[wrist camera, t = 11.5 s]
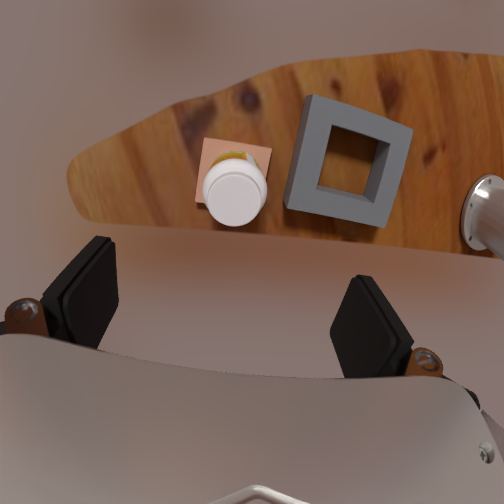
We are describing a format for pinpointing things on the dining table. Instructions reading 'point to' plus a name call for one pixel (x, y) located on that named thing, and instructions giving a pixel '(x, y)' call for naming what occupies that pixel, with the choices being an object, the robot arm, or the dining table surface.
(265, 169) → the mat
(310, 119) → the frame
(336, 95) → the dining table surface
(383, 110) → the dining table surface
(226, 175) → the supplement bottle
